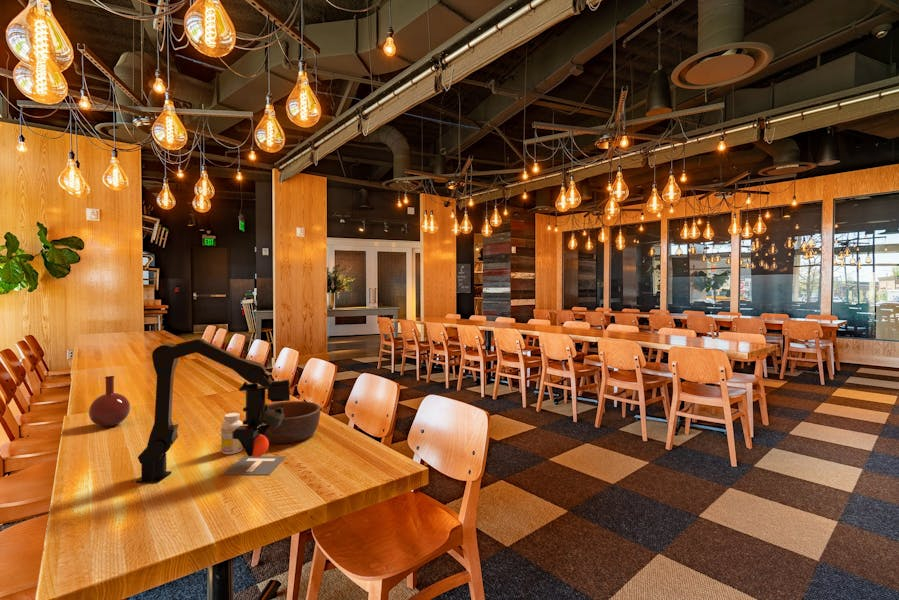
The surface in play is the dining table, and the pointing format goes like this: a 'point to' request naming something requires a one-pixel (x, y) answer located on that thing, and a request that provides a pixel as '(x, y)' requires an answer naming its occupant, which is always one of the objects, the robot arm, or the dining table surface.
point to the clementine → (260, 445)
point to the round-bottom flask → (109, 406)
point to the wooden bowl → (294, 422)
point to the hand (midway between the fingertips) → (255, 451)
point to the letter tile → (255, 465)
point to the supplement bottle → (230, 434)
